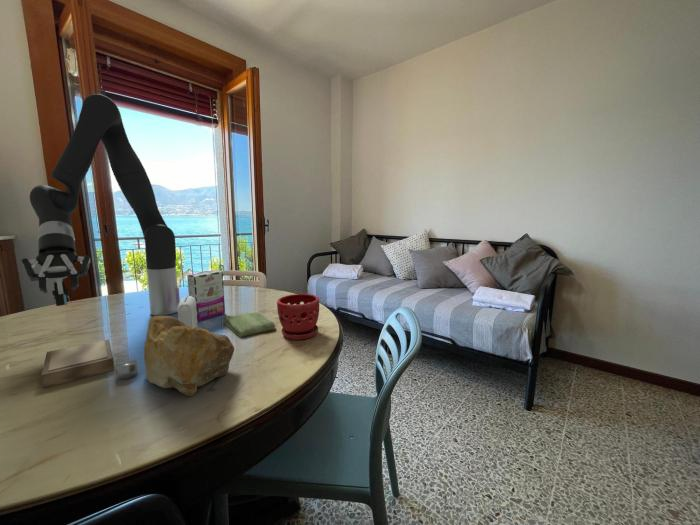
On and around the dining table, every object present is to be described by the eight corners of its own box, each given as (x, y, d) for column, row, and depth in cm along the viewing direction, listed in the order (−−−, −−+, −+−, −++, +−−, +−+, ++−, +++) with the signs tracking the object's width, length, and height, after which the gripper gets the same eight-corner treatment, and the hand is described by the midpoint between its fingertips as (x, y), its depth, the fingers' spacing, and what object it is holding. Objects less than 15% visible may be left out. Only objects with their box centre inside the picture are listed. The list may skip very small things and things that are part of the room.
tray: (110, 349, 82) (108, 338, 81) (114, 369, 72) (113, 357, 71) (48, 363, 74) (46, 350, 73) (43, 388, 64) (41, 373, 63)
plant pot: (303, 324, 105) (303, 290, 103) (327, 335, 95) (327, 298, 94) (269, 333, 96) (269, 297, 94) (293, 346, 86) (292, 307, 84)
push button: (47, 302, 81) (41, 266, 79) (73, 298, 85) (68, 264, 83) (48, 307, 77) (42, 269, 75) (76, 303, 81) (71, 267, 79)
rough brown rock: (255, 386, 68) (257, 321, 67) (176, 416, 55) (177, 337, 54) (208, 356, 83) (209, 303, 82) (137, 375, 70) (137, 312, 69)
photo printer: (184, 330, 96) (181, 293, 94) (198, 329, 98) (196, 292, 96) (178, 343, 87) (175, 302, 85) (194, 341, 88) (191, 301, 86)
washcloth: (258, 316, 113) (258, 308, 112) (277, 331, 99) (277, 321, 98) (222, 323, 105) (221, 314, 104) (237, 340, 91) (236, 330, 90)
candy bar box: (217, 311, 116) (215, 269, 113) (225, 313, 113) (223, 271, 111) (189, 319, 106) (186, 274, 104) (197, 322, 104) (194, 276, 101)
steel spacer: (136, 369, 72) (135, 358, 72) (138, 376, 69) (137, 364, 69) (115, 375, 69) (114, 363, 69) (117, 382, 66) (115, 370, 66)
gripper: (17, 232, 79) (16, 285, 72) (88, 231, 88) (94, 278, 81) (23, 250, 83) (23, 302, 76) (90, 247, 93) (96, 293, 86)
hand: (59, 289), depth 79 cm, fingers closed on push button, 4 cm apart
